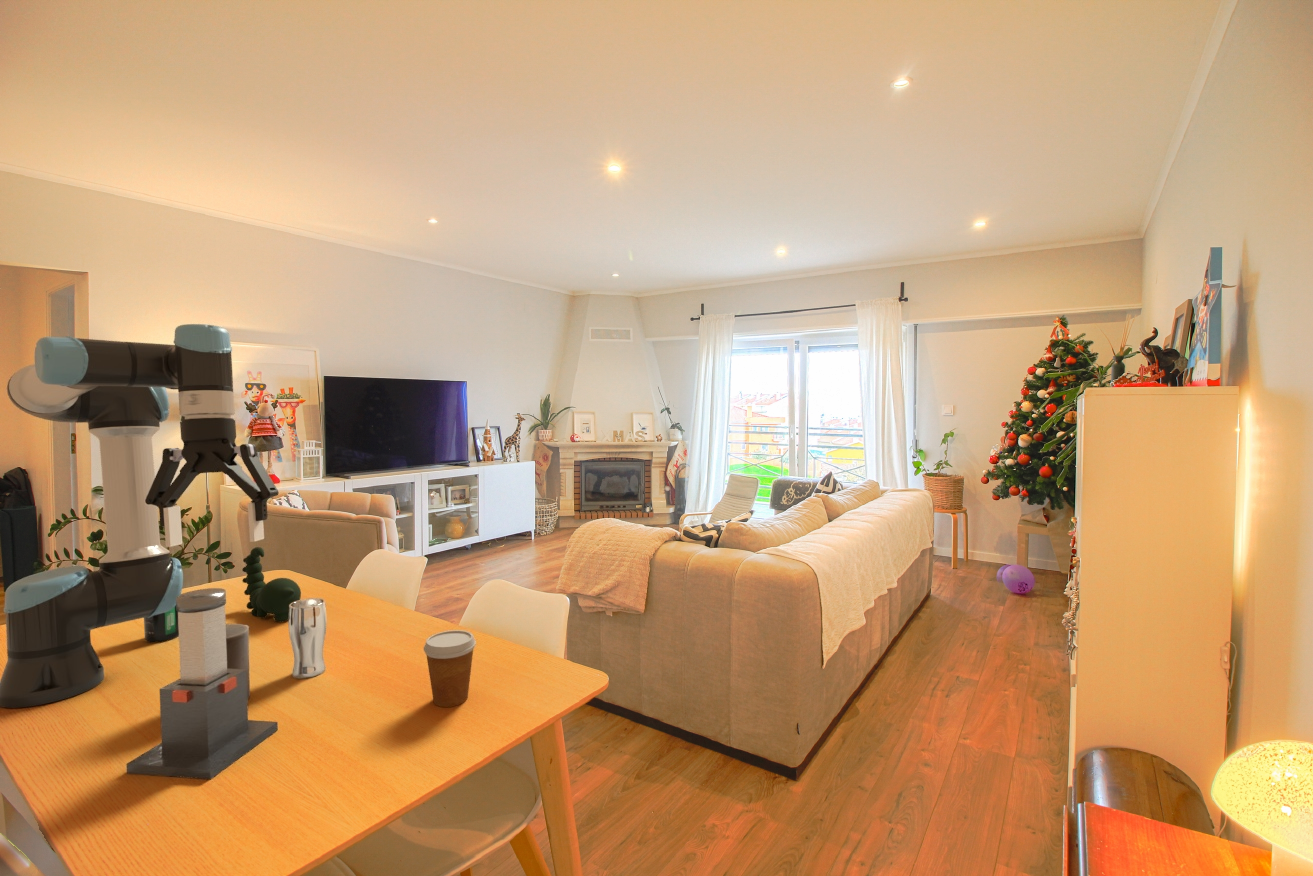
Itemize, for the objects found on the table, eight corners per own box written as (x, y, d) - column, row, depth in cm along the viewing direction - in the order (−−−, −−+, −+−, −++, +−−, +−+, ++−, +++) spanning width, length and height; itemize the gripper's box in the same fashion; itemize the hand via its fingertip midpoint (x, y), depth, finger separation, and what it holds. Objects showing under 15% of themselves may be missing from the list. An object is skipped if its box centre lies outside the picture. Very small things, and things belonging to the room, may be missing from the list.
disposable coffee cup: (427, 716, 110) (426, 651, 110) (421, 694, 119) (420, 634, 118) (481, 704, 115) (480, 642, 114) (471, 684, 123) (470, 626, 122)
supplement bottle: (179, 639, 146) (177, 590, 145) (142, 645, 142) (140, 595, 142) (182, 630, 152) (180, 583, 151) (146, 636, 148) (144, 587, 147)
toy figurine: (234, 618, 165) (275, 630, 151) (229, 549, 165) (270, 554, 151) (272, 609, 173) (314, 619, 158) (267, 543, 173) (309, 547, 158)
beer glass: (310, 681, 124) (308, 609, 123) (281, 678, 125) (279, 607, 125) (335, 667, 131) (333, 598, 130) (307, 664, 132) (305, 596, 131)
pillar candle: (201, 721, 108) (199, 638, 108) (177, 706, 113) (176, 627, 113) (260, 699, 117) (259, 622, 116) (235, 686, 122) (234, 613, 121)
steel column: (171, 748, 96) (165, 599, 95) (205, 727, 102) (200, 587, 101) (208, 751, 95) (202, 601, 94) (240, 729, 102) (235, 588, 101)
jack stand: (126, 773, 93) (123, 697, 92) (203, 725, 107) (201, 659, 106) (210, 779, 91) (207, 702, 91) (277, 730, 105) (275, 662, 105)
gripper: (112, 421, 98) (120, 552, 98) (270, 412, 99) (278, 542, 99) (149, 422, 105) (156, 543, 105) (295, 414, 106) (303, 534, 107)
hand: (215, 543), depth 102 cm, fingers open, 13 cm apart
